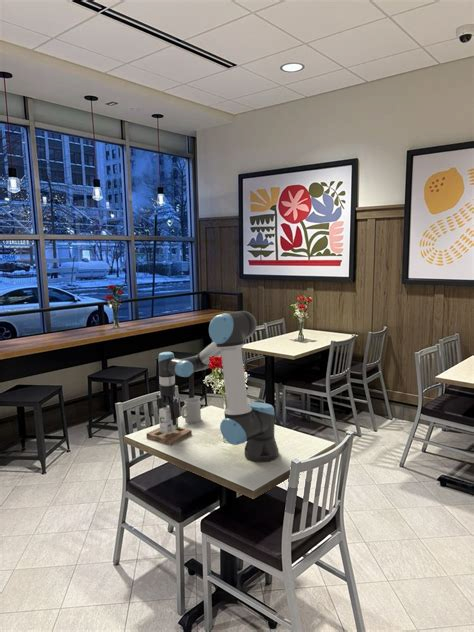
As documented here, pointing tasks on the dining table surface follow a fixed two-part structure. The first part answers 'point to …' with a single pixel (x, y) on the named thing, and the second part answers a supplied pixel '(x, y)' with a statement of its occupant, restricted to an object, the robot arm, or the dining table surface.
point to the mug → (191, 410)
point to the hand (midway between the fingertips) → (169, 429)
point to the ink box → (166, 420)
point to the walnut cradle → (169, 435)
